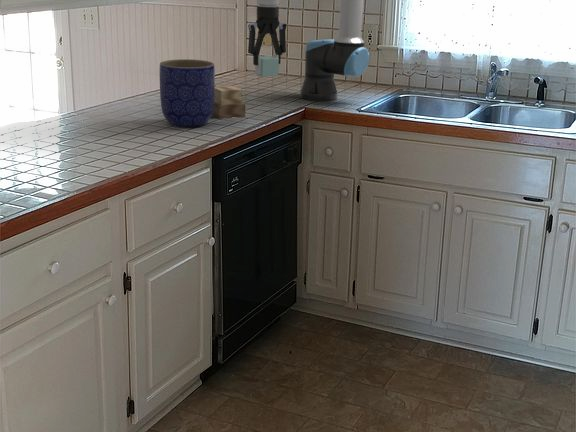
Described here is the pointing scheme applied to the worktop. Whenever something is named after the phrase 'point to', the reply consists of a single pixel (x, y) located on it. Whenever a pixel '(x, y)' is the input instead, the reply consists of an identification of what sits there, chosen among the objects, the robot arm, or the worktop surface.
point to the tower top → (228, 95)
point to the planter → (187, 91)
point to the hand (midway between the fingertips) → (266, 73)
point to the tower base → (228, 110)
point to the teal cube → (269, 66)
